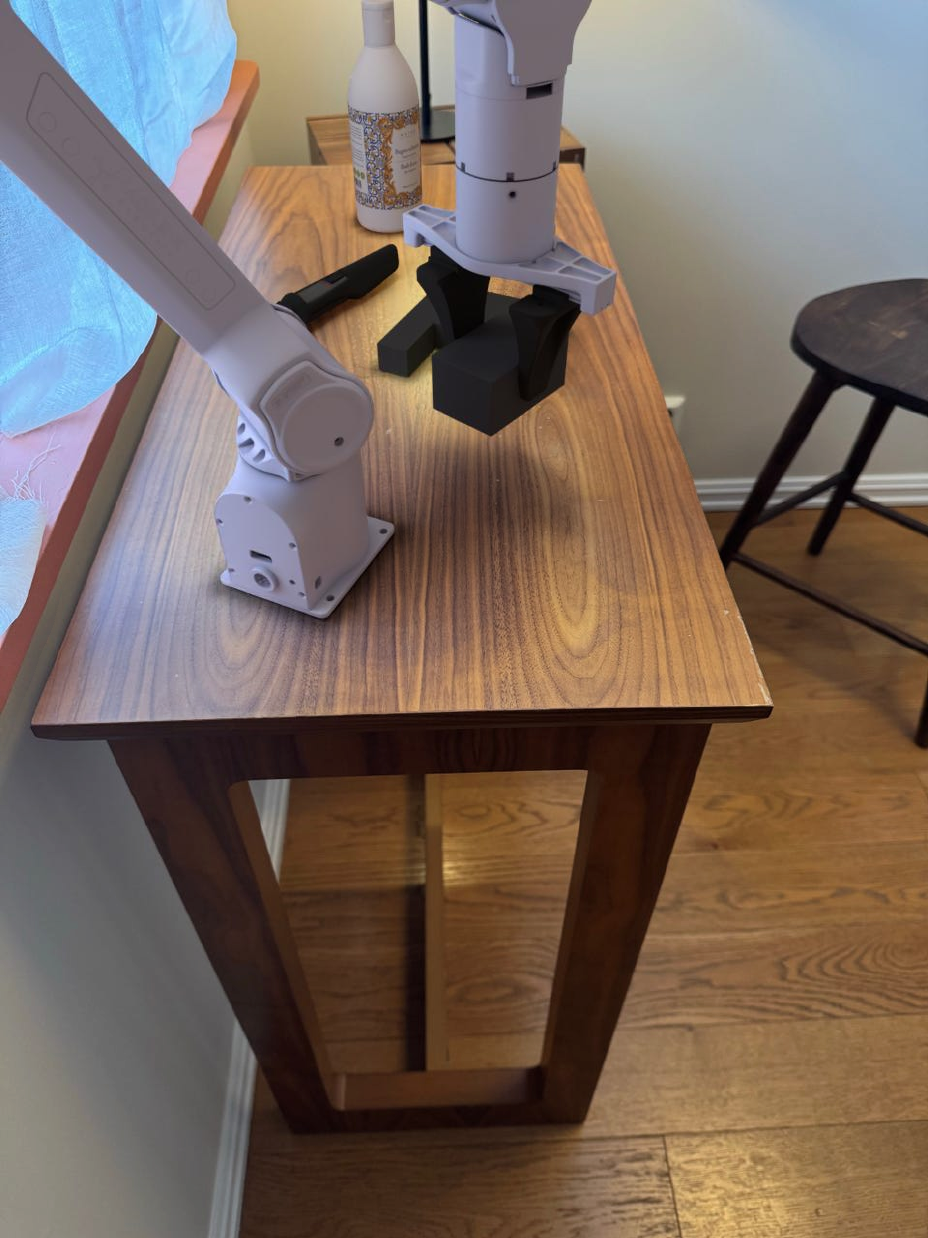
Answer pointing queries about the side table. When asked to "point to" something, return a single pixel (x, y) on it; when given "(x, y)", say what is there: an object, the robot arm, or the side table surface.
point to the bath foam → (384, 125)
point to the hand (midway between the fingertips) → (500, 378)
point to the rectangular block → (486, 377)
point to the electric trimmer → (343, 285)
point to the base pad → (424, 335)
